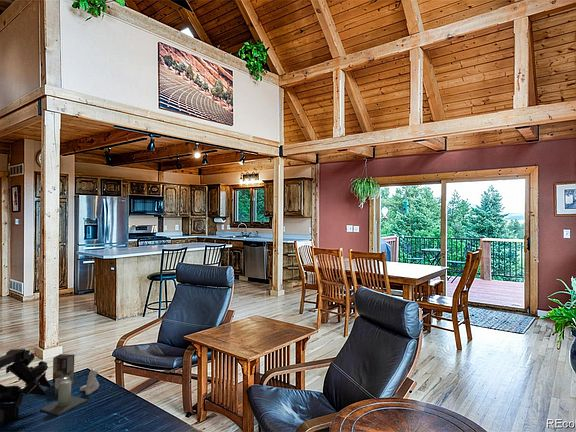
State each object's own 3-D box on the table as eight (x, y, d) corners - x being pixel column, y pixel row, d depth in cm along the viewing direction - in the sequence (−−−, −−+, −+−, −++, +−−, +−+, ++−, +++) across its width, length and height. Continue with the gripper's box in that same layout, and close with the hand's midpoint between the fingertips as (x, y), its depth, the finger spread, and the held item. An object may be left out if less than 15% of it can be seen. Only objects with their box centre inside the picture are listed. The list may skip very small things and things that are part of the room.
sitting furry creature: (78, 390, 204) (79, 369, 204) (94, 385, 211) (95, 364, 211) (86, 395, 198) (87, 373, 199) (102, 390, 205) (103, 368, 206)
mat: (58, 415, 177) (58, 414, 177) (40, 410, 182) (40, 408, 182) (87, 401, 192) (87, 399, 192) (69, 396, 197) (69, 395, 197)
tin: (60, 396, 197) (61, 381, 197) (51, 394, 200) (52, 379, 200) (72, 391, 204) (73, 376, 204) (63, 388, 206) (64, 374, 206)
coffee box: (74, 381, 216) (75, 354, 216) (66, 386, 209) (67, 358, 210) (59, 381, 216) (60, 353, 217) (51, 385, 210) (52, 357, 211)
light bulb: (63, 407, 183) (63, 385, 184) (55, 405, 185) (56, 383, 186) (73, 402, 188) (73, 381, 189) (65, 400, 190) (66, 379, 191)
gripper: (31, 365, 174) (57, 385, 178) (41, 352, 191) (65, 370, 195) (11, 384, 171) (38, 404, 174) (22, 369, 188) (47, 387, 192)
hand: (48, 390), depth 184 cm, fingers open, 9 cm apart
